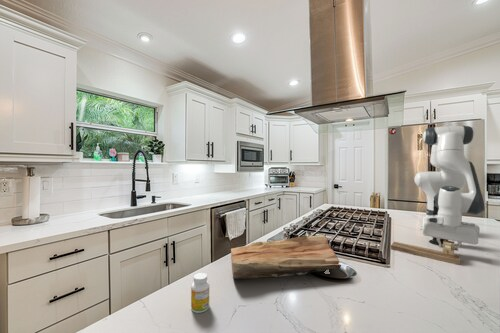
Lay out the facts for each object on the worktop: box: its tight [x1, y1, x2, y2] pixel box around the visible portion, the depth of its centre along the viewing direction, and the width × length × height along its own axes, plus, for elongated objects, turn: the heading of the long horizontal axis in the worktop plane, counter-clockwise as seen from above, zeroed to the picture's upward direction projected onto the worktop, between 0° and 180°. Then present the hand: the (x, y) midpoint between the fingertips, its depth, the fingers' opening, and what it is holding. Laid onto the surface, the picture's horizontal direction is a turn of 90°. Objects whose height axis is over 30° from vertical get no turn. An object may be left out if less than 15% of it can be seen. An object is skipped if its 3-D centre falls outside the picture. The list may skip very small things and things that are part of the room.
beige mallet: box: [442, 240, 455, 255], centre depth 108 cm, size 12×4×6 cm, turn 137°
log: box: [230, 234, 342, 280], centre depth 91 cm, size 42×18×15 cm, turn 98°
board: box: [390, 241, 461, 266], centre depth 112 cm, size 8×26×2 cm, turn 47°
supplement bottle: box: [190, 272, 210, 314], centre depth 69 cm, size 5×5×10 cm
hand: (448, 248), depth 111 cm, fingers closed on beige mallet, 4 cm apart
